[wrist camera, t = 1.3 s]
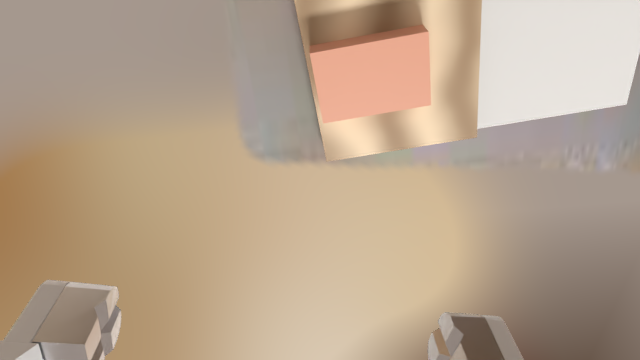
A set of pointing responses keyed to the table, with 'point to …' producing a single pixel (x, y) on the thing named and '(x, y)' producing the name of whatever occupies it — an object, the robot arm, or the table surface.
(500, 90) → the mat
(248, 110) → the table surface
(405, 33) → the pink rectangular block
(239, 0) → the table surface
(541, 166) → the table surface
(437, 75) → the riser
